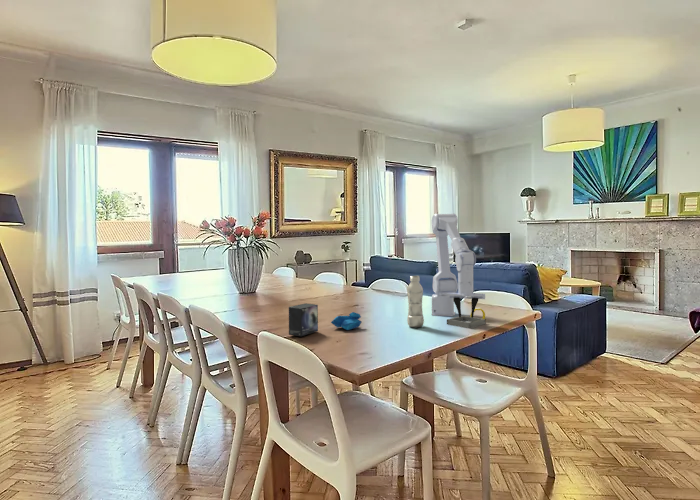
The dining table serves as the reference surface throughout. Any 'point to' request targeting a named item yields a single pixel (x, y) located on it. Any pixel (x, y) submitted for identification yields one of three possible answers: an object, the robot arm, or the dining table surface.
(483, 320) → the box
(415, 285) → the plastic bottle
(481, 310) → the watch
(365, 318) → the dining table surface
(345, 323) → the crystal
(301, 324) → the small box
